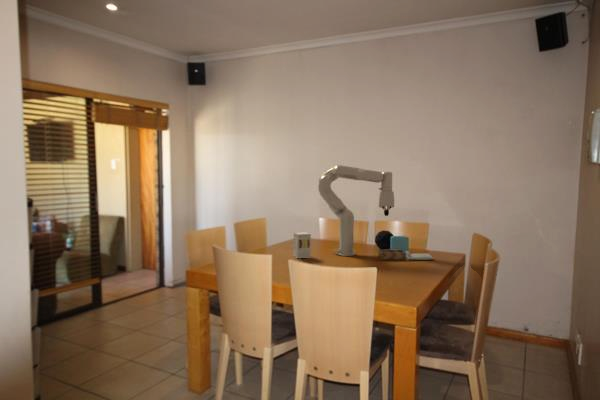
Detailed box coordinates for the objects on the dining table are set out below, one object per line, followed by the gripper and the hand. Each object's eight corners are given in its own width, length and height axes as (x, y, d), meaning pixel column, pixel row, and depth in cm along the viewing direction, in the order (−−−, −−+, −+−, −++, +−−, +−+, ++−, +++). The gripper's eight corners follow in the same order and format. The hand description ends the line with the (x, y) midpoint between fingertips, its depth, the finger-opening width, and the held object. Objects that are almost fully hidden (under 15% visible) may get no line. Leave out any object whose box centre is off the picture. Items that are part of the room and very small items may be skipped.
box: (381, 260, 275) (381, 252, 275) (378, 256, 286) (378, 249, 286) (405, 260, 275) (405, 252, 274) (402, 256, 286) (402, 249, 285)
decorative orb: (368, 241, 318) (375, 226, 309) (384, 239, 324) (392, 225, 315) (377, 255, 308) (384, 240, 299) (393, 253, 314) (401, 239, 305)
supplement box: (297, 259, 280) (297, 234, 278) (293, 256, 288) (293, 232, 287) (311, 258, 283) (310, 233, 281) (306, 255, 291) (306, 231, 290)
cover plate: (408, 260, 274) (408, 253, 274) (404, 256, 287) (404, 250, 286) (433, 260, 274) (433, 253, 273) (427, 256, 286) (427, 250, 286)
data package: (406, 252, 301) (406, 235, 301) (408, 253, 297) (408, 236, 296) (390, 252, 301) (390, 235, 300) (391, 253, 296) (392, 237, 295)
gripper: (376, 189, 289) (376, 216, 291) (398, 189, 289) (398, 216, 290) (375, 189, 297) (374, 215, 298) (396, 189, 296) (396, 215, 298)
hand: (386, 215), depth 294 cm, fingers closed
